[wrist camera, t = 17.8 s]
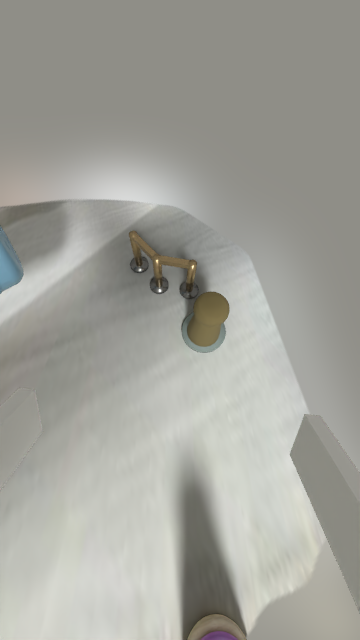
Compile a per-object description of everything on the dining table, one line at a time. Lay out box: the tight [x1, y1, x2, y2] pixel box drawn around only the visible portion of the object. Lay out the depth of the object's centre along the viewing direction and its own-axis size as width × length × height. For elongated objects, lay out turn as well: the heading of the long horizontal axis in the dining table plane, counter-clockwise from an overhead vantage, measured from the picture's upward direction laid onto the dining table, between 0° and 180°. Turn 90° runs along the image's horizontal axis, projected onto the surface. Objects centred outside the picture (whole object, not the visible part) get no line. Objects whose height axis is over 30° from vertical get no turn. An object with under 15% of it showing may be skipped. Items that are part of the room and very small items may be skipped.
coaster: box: [182, 313, 226, 353], centre depth 43 cm, size 8×8×1 cm
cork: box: [187, 292, 229, 347], centre depth 37 cm, size 6×6×11 cm
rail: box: [129, 231, 198, 299], centre depth 43 cm, size 15×8×9 cm, turn 80°
